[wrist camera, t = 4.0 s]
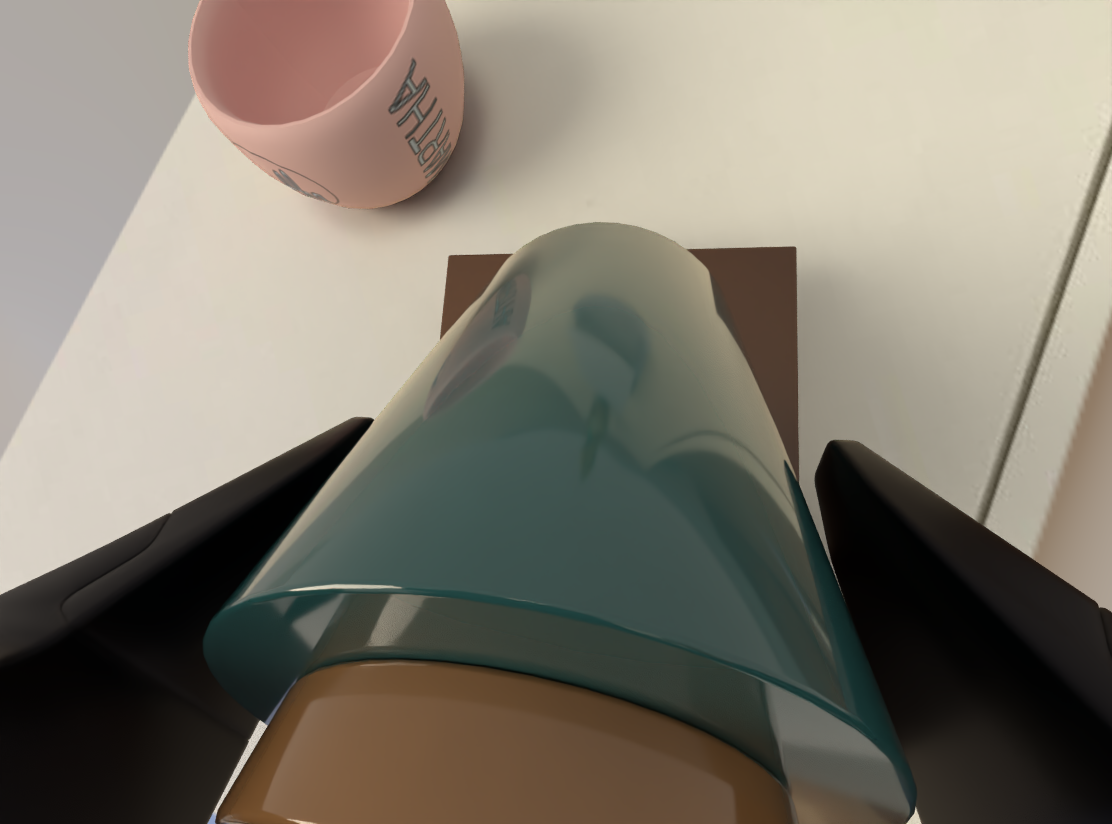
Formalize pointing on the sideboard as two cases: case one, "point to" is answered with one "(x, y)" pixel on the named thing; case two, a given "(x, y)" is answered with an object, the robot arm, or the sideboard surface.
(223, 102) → the mug
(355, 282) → the sideboard surface
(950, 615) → the robot arm
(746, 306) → the stand
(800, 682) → the jar
